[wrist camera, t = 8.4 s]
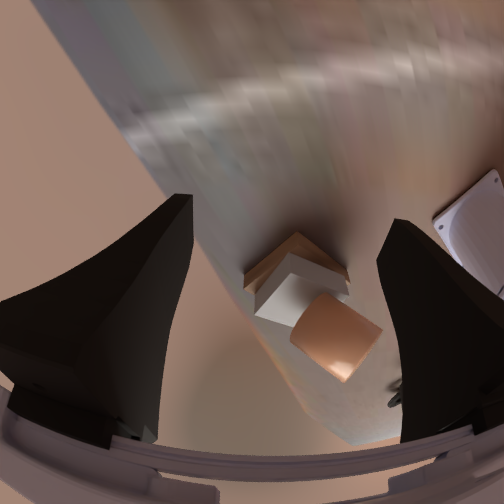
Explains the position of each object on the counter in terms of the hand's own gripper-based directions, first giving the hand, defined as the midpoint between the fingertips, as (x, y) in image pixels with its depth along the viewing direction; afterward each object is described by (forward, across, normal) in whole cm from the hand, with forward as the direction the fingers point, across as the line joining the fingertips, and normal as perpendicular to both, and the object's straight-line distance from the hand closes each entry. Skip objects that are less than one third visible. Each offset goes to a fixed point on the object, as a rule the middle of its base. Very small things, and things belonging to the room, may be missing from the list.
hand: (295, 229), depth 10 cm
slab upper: (+9, -3, +12) cm, 15 cm away
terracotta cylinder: (+5, -4, +11) cm, 13 cm away
